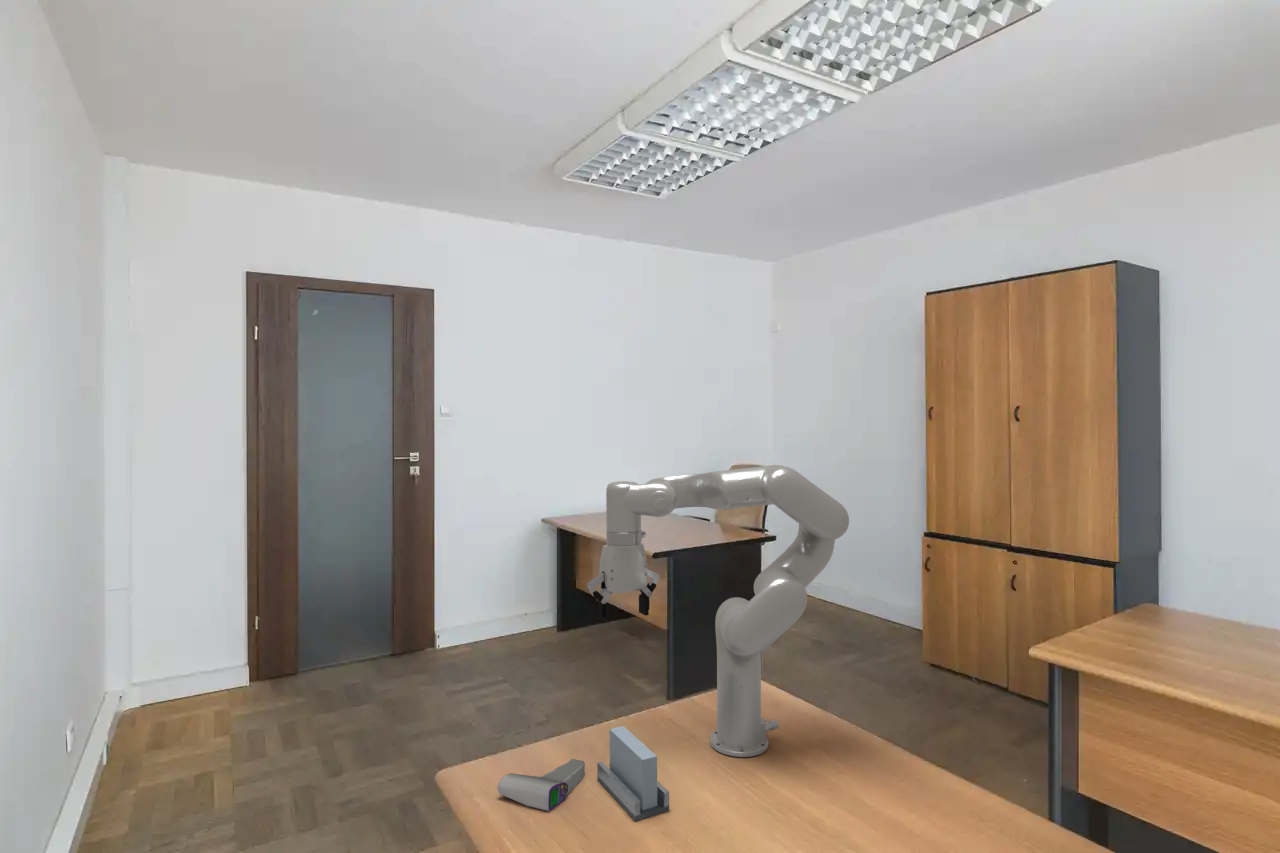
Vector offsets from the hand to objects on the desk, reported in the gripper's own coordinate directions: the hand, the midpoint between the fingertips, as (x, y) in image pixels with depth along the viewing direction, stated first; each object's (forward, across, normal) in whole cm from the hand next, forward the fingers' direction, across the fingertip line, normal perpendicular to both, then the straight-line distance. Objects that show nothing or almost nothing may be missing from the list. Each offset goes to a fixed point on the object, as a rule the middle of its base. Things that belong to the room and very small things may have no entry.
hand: (624, 617), depth 149 cm
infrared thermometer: (+29, +22, +7) cm, 36 cm away
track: (+28, +8, +18) cm, 34 cm away
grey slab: (+27, +8, +18) cm, 34 cm away
